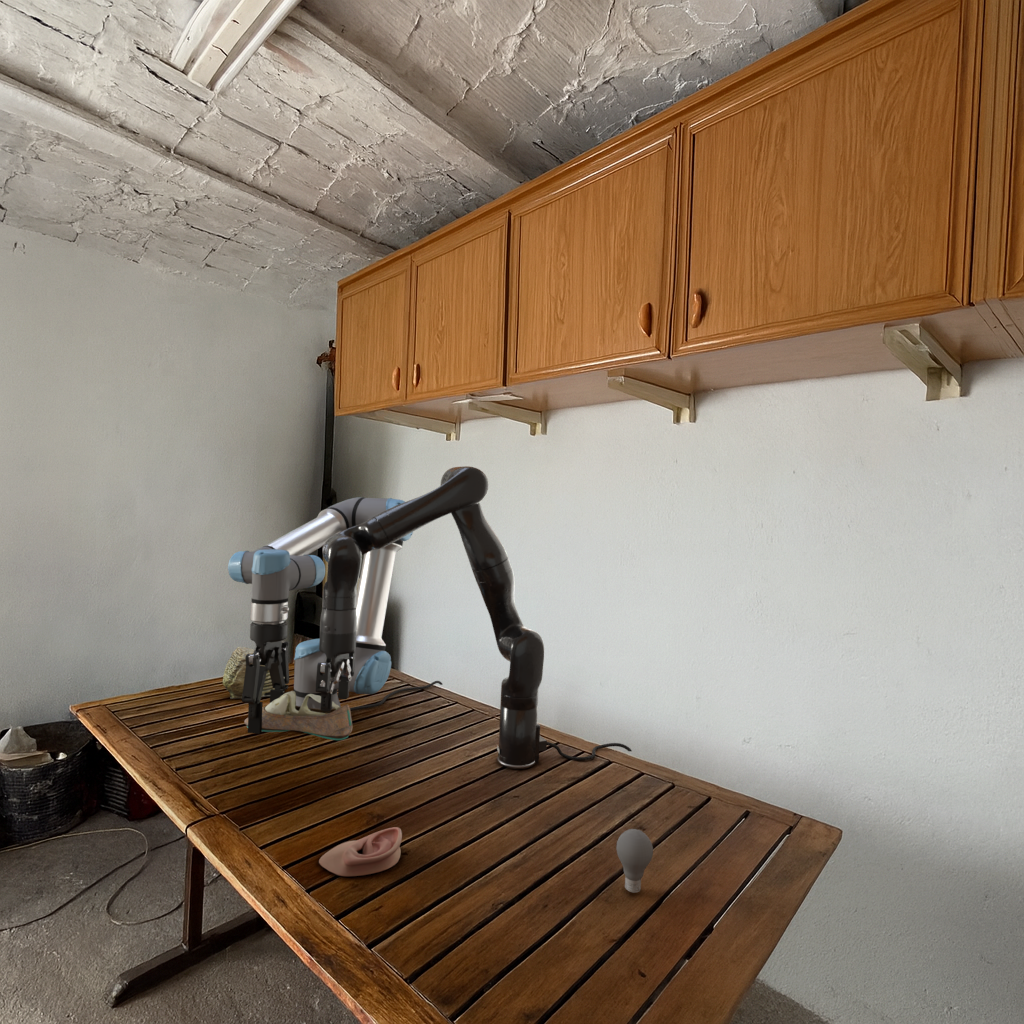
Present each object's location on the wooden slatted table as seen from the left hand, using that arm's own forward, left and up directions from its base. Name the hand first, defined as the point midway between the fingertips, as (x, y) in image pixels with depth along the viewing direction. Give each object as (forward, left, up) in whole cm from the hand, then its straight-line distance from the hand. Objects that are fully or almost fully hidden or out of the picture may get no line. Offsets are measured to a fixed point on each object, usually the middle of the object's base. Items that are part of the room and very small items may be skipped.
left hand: (265, 725), depth 138 cm
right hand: (-8, +14, +6) cm, 17 cm away
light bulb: (-21, +78, -13) cm, 82 cm away
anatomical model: (+3, +38, -13) cm, 40 cm away
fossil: (-30, -58, -13) cm, 67 cm away
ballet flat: (-4, +7, 0) cm, 8 cm away
